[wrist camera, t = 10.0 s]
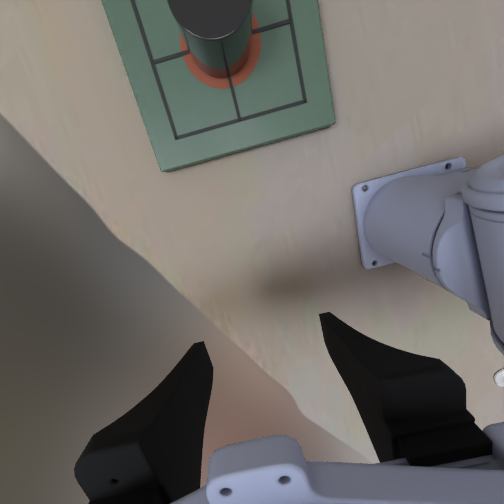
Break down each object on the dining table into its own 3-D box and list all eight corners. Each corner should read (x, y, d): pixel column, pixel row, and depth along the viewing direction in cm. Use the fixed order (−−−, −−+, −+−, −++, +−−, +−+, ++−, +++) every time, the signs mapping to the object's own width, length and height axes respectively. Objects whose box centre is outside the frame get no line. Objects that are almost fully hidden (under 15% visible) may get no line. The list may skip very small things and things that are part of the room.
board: (294, -101, 16) (299, -130, 15) (329, 127, 20) (336, 122, 18) (95, -35, 17) (80, -57, 15) (166, 172, 21) (160, 171, 19)
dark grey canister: (242, -7, 16) (240, -87, 11) (258, 68, 17) (263, 26, 13) (178, 12, 16) (150, -57, 12) (199, 86, 18) (181, 51, 13)
